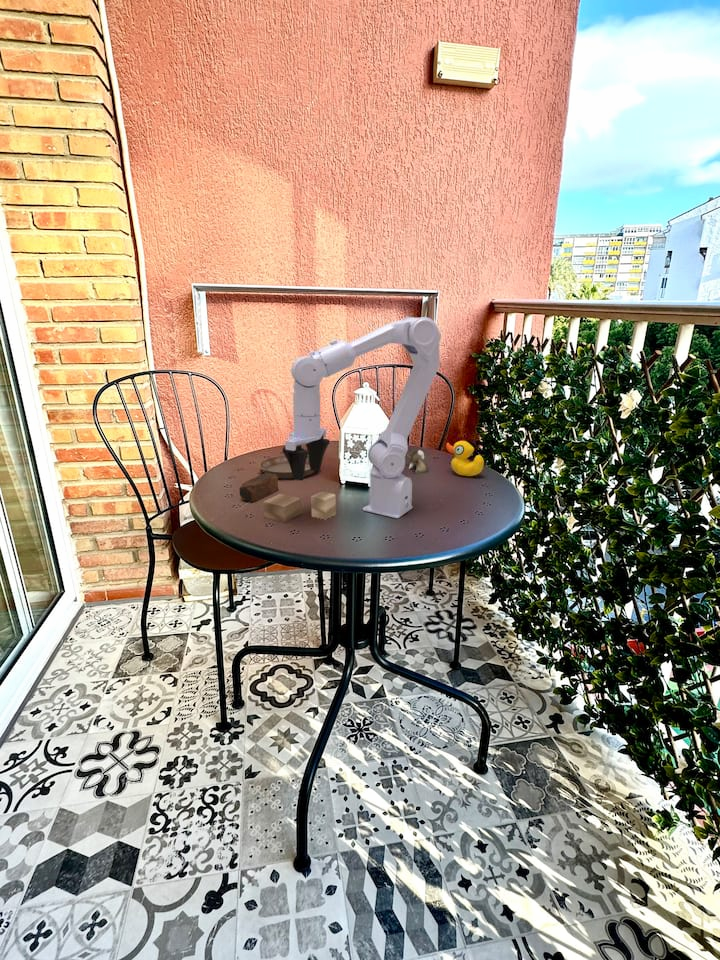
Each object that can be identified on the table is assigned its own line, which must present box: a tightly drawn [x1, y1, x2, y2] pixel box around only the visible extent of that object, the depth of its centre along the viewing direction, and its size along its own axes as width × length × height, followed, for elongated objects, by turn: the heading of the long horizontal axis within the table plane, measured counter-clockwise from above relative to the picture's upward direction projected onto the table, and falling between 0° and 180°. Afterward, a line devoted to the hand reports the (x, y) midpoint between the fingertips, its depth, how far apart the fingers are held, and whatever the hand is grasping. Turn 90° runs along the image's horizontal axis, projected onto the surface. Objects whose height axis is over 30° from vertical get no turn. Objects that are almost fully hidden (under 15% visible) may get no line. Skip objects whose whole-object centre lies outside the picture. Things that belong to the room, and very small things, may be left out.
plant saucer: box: [258, 454, 315, 480], centre depth 144 cm, size 18×18×3 cm
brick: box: [238, 472, 279, 503], centre depth 124 cm, size 11×4×5 cm, turn 152°
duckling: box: [445, 440, 485, 477], centre depth 140 cm, size 11×5×10 cm, turn 58°
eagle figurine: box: [405, 449, 429, 475], centre depth 146 cm, size 8×7×9 cm
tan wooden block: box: [262, 493, 302, 524], centre depth 112 cm, size 6×6×4 cm
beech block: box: [310, 490, 337, 521], centre depth 112 cm, size 4×4×5 cm
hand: (306, 474), depth 109 cm, fingers open, 7 cm apart
